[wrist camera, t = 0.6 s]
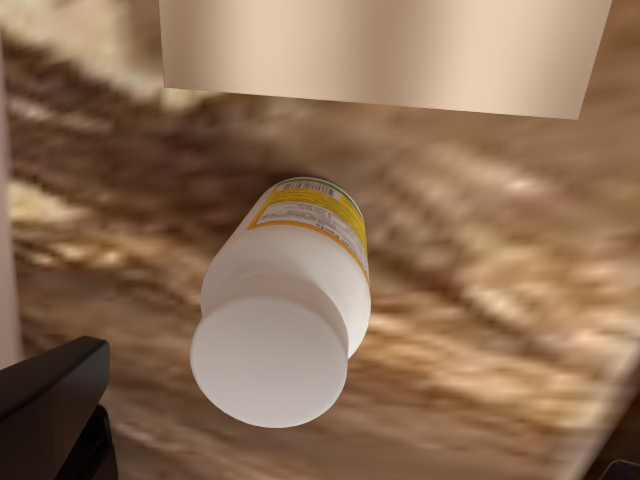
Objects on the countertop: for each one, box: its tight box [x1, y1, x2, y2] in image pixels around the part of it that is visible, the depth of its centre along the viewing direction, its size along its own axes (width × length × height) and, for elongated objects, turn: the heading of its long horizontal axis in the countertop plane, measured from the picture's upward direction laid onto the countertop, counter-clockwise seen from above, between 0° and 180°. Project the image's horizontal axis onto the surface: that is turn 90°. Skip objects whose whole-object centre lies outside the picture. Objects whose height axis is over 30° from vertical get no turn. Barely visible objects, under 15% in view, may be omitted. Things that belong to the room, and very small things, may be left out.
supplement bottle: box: [190, 177, 371, 428], centre depth 15 cm, size 5×5×10 cm
